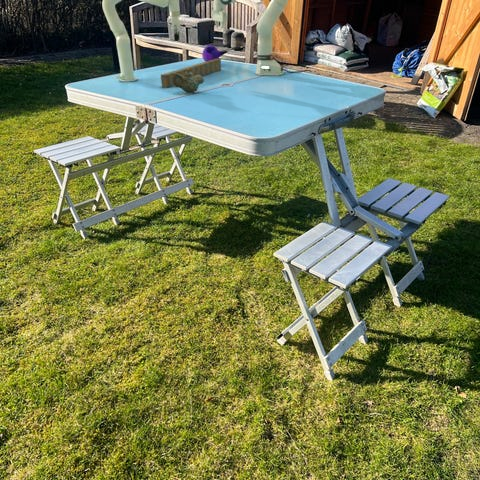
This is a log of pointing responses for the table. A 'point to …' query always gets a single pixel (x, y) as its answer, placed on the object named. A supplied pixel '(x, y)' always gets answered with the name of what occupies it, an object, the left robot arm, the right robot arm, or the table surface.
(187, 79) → the teapot
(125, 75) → the left robot arm
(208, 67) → the bar
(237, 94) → the table surface
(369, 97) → the table surface
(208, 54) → the toy
